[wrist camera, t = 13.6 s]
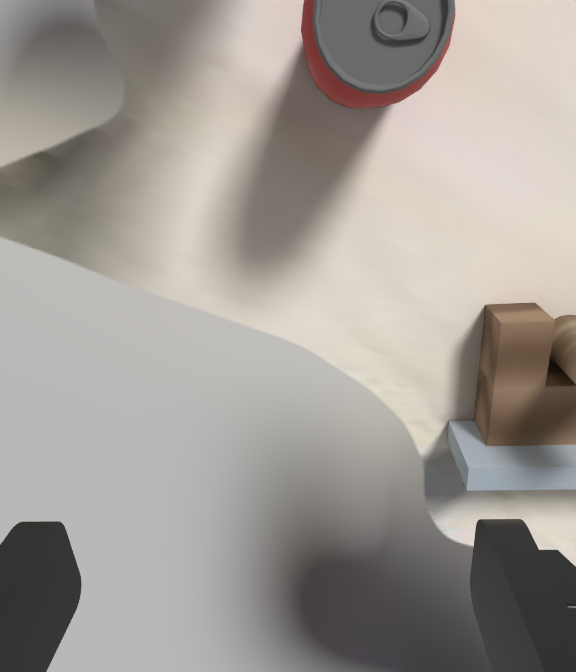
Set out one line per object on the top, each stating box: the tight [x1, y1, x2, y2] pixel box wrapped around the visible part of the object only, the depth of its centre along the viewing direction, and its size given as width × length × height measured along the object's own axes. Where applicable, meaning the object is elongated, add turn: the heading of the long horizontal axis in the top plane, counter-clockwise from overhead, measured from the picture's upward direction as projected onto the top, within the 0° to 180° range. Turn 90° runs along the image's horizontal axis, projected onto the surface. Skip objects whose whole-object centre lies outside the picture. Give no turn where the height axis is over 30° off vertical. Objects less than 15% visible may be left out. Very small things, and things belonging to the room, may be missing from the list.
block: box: [474, 303, 576, 446], centre depth 37 cm, size 10×12×4 cm
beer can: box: [301, 0, 455, 108], centre depth 25 cm, size 7×7×12 cm
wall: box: [447, 420, 576, 491], centre depth 38 cm, size 2×16×6 cm, turn 93°
